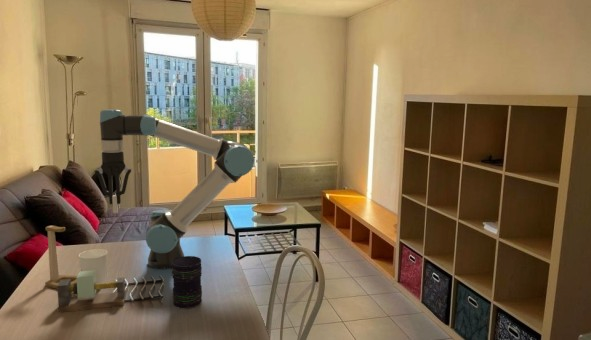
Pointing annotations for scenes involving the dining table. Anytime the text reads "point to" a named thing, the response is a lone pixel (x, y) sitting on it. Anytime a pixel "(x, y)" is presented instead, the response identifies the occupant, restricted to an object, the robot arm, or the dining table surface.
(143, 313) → the dining table surface
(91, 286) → the sleeve
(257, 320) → the dining table surface
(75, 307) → the rail
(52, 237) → the headphone stand
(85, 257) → the candle holder
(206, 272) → the dining table surface
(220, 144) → the robot arm
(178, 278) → the storage jar
